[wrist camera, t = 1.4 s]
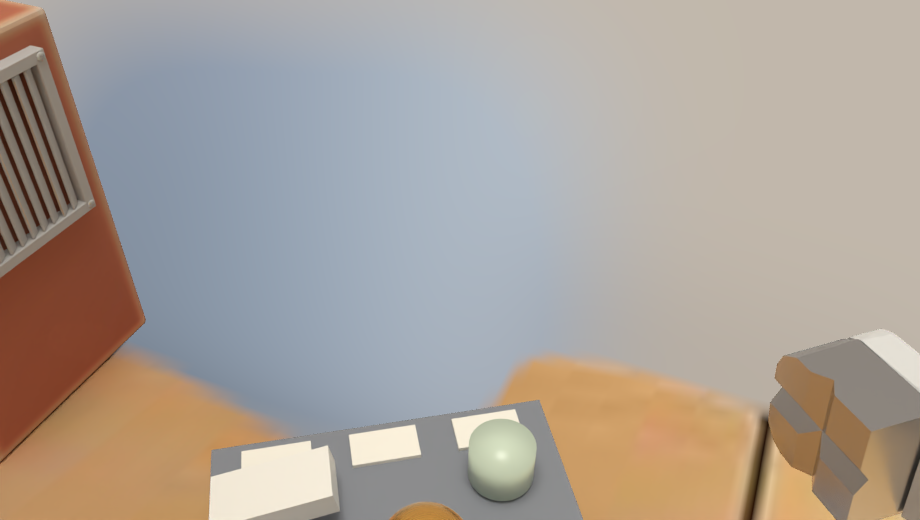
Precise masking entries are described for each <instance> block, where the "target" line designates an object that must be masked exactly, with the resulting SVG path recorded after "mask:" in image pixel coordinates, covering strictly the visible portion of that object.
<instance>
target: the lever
mask: <svg viewBox="0 0 920 520" xmlns="http://www.w3.org/2000/svg"><path fill="white" fill-rule="evenodd" d="M389 520H463V519H462V518H461V517H460V516H459V515H458V514H457V513H456V512H455V511H454V510H452V509H451V508H449V507H447V506H445V505H443V504H440V503H436V502H427V501H424V502H417V503H412V504H410V505H407V506H405V507H403V508H402V509H400V510H399V511H397V512H396V513H395V514H394V515H393V516H392V517H390V519H389Z"/></svg>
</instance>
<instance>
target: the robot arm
mask: <svg viewBox="0 0 920 520" xmlns="http://www.w3.org/2000/svg"><path fill="white" fill-rule="evenodd" d="M775 379H776V380H777V381H778V383H779V384H780V385H781V386H782V388H781V389H780V391H779V392H778V393H777V394H776V396H775V397H774V398H773V399H772V401H771V402H770V410H769V418H768V421H769V425H770V429H771V433H772V437H773V440H774V442H775V444H776V446H777V447H778V449H779V451H780V453H781V454H782V455H783V457H784V458H785V459H786V460H787V462H788V463H789V464H790V465H791V467H793V468H795V469H797V470H800V471H802V472H804V473H806V474H808V475H811V476H812V492H813V493H814V494H815V495H816V496H817V498H818V499H819V500H820V501H821V502H822V503H823V505H824V506H825V507H826V508H827V509H828V511H829V512H830V513H831V514H832V515H833V516H834V518H835V519H836V520H879V519H882V518H886V517H889V516H893V515H896V514H900V513H902V515H901V517H903V518H905V519H906V520H920V354H919V353H918V352H916V351H915V350H914V349H913V348H911V347H910V346H909V345H908V344H907V343H905V342H904V341H903V340H902V339H900V338H899V337H898V336H897V335H896V334H894V333H892V332H890V331H887V330H884V329H878V330H875V331H871V332H867V333H864V334H860V335H856V336H853V337H849V338H848V339H841V340H838V341H834V342H830V343H827V344H824V345H820V346H817V347H813V348H809V349H806V350H803V351H799V352H795V353H792V354H788V355H785V356H783V357H782V359H781V360H780V361H779V363H778V364H777V368H776V373H775Z"/></svg>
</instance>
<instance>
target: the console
mask: <svg viewBox="0 0 920 520" xmlns="http://www.w3.org/2000/svg"><path fill="white" fill-rule="evenodd" d="M493 419H509V420H513V421H516V422H518V423H520V424H522V425H524V426H525V427H526V428H528V429H529V430H530V432H531V433H532V434H533V436H534V438H535V440H536V445H537V451H536V459H535V468H534V476H533V482H532V484H531V486H530V488H529V489H528V490H527V492H526V493H524V494H523V495H522V496H520V497H518V498H516V499H513V500H509V501H495V500H491V499H488V498H486V497H484V496H482V495H481V494H479V493H478V492H477V491H476V490H475V489H474V488H473V486H472V485H471V483H470V481H469V478H468V452H469V439H470V436H471V434H472V432H473V431H474V430H475V429H476V428H477V427H478V426H479V425H481V424H482V423H484V422H486V421H489V420H493ZM327 445H328V447H329V449H330V451H331V453H332V456H333V458H334V460H335V466H336V476H337V486H338V496H339V506H340V511H339V512H336V513H332V514H328V515H325V516H321V517H317V518H314V519H310V520H389V519H390V517H392V516H393V515H394V514H395V513H396V512H397V511H399V510H400V509H402V508H403V507H405V506H407V505H410V504H412V503H417V502H424V501H427V502H436V503H440V504H443V505H445V506H447V507H449V508H451V509H452V510H454V511H455V512H456V513H457V514H458V515H459V516H460V517H461V518H462V519H463V520H583V518H582V515H581V512H580V510H579V507H578V504H577V501H576V499H575V496H574V493H573V491H572V488H571V485H570V482H569V480H568V477H567V474H566V472H565V469H564V466H563V463H562V461H561V458H560V455H559V453H558V450H557V447H556V444H555V442H554V439H553V436H552V433H551V431H550V428H549V425H548V423H547V420H546V417H545V414H544V412H543V409H542V406H541V404H540V401H539V400H536V401H529V402H523V403H516V404H510V405H503V406H497V407H490V408H484V409H477V410H471V411H464V412H458V413H451V414H444V415H439V416H432V417H425V418H418V419H412V420H405V421H399V422H392V423H386V424H379V425H373V426H366V427H360V428H353V429H346V430H340V431H333V432H327V433H320V434H314V435H307V436H301V437H294V438H288V439H281V440H275V441H268V442H261V443H255V444H248V445H242V446H235V447H229V448H222V449H216V450H212V454H211V477H212V476H216V475H219V474H223V473H227V472H231V471H234V470H238V469H242V468H245V467H249V466H253V465H256V464H260V463H264V462H268V461H271V460H275V459H279V458H282V457H286V456H290V455H294V454H297V453H301V452H305V451H308V450H312V449H316V448H319V447H323V446H327ZM210 482H211V478H210ZM209 506H210V501H209Z"/></svg>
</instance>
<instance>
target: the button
mask: <svg viewBox="0 0 920 520" xmlns="http://www.w3.org/2000/svg"><path fill="white" fill-rule="evenodd" d="M536 451H537V445H536V440H535V438H534V436H533V434H532V433H531V432H530V430H529V429H528V428H526V427H525V426H524V425H522V424H520V423H518V422H516V421H513V420H509V419H493V420H489V421H486V422H484V423H482V424H481V425H479V426H478V427H477V428H476V429H475V430H474V431H473V432H472V434H471V436H470V439H469V452H468V478H469V481H470V483H471V485H472V486H473V488H474V489H475V490H476V491H477V492H478V493H479V494H481V495H482V496H484V497H486V498H488V499H491V500H495V501H509V500H513V499H516V498H518V497H520V496H522V495H523V494H524V493H526V492H527V490H528V489H529V488H530V486H531V484H532V482H533V476H534V468H535V459H536Z"/></svg>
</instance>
